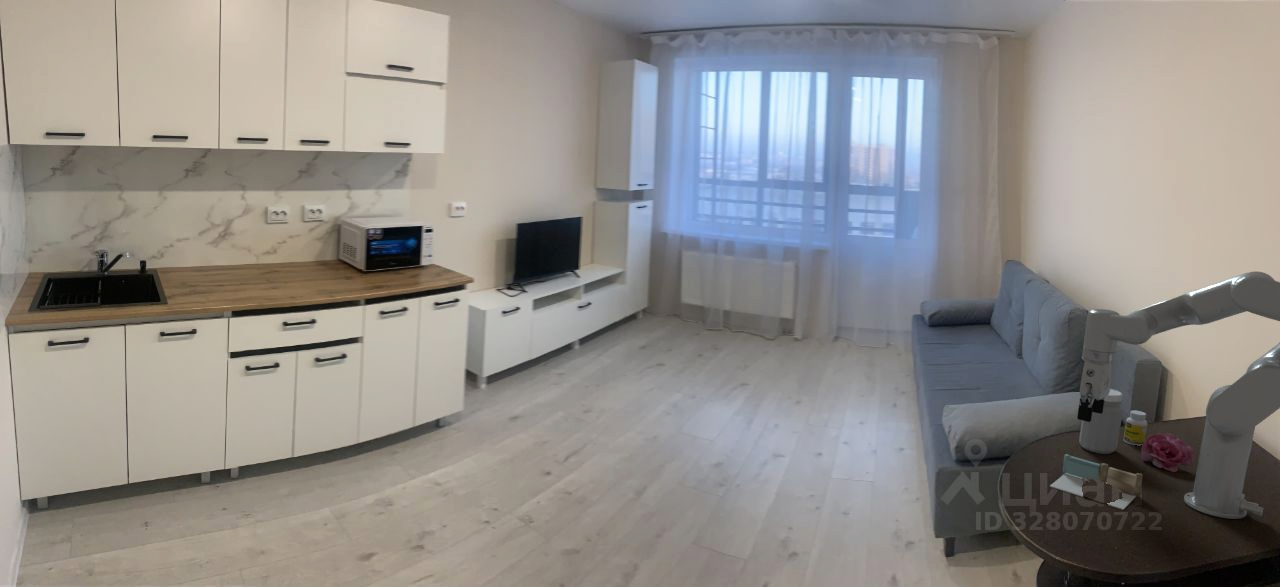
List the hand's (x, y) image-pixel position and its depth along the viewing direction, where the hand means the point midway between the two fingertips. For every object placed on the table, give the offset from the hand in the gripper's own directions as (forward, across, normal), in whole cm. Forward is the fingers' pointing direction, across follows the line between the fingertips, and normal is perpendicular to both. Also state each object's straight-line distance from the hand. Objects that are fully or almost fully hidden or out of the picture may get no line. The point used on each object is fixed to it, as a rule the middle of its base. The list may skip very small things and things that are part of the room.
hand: (1089, 416), depth 205 cm
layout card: (+16, -9, -6) cm, 20 cm away
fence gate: (+16, -5, -1) cm, 16 cm away
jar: (+17, +23, +3) cm, 28 cm away
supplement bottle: (+17, +37, -3) cm, 41 cm away
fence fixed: (+16, -5, -10) cm, 20 cm away
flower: (+17, +24, -14) cm, 33 cm away
